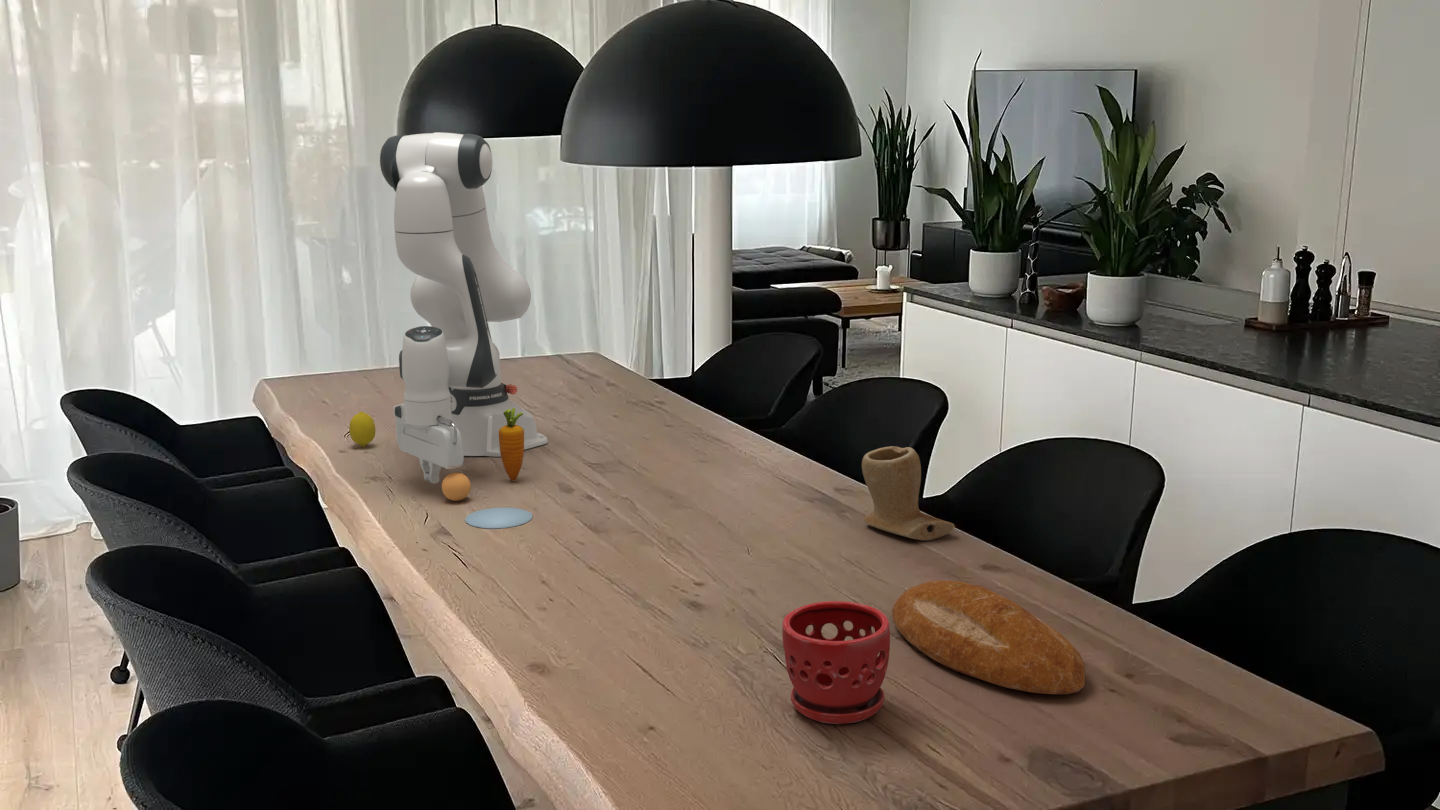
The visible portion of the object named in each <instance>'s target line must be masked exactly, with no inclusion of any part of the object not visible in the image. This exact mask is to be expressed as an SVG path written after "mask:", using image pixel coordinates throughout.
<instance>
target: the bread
mask: <svg viewBox="0 0 1440 810" xmlns="http://www.w3.org/2000/svg"><path fill="white" fill-rule="evenodd" d="M891 613H892V621H893V623H894V626H895V627H896V629H897V631H898V632H899V633H900V634H901V635H902V636H903V638H904V639H905V640H907V642H909V643H910V644H911V645H912V646H914V648H916V649H917V650H918V651H920V652H921V653H922V654H924V655H926V656H927V657H929V658H930V659H932V660H934V661H935V662H937V663H939V664H940V665H943V667H944V666H945V667H947V668H948V669H951V670H953V671H955V672H958V673H960V674H963V675H967V676H970V677H972V678H975V679H978V680H980V681H983V682H986V683H990V684H993V685H996V686H998V687H1003V688H1007V689H1012V690H1016V691H1017V690H1018V691H1022V692H1025V693H1026V692H1027V693H1032V694H1033V693H1034V694H1042V695H1043V694H1045V695H1046V694H1047V695H1071V694H1074V693H1075V694H1076V693H1079V692H1080V691H1081V690H1082V689H1083V688H1084V687H1085V685H1086V683H1085V681H1086V680H1085V678H1086V676H1085V675H1086V673H1085V672H1086V671H1085V669H1086V665H1085V662H1084V660H1083V658H1082V656H1081V653H1080V652H1079V651H1078V650H1077V649H1076V648H1075V646H1074V645H1073V644H1072V643H1071V642H1070V641H1069V640H1068V639H1067V638H1065V636H1064V635H1063V634H1061V633H1060V632H1059V631H1057V630H1056V629H1055V628H1053V627H1052V626H1050V625H1048V624H1047V623H1046V622H1044V621H1043V620H1042V619H1040V618H1039V617H1038V616H1036V615H1034V614H1033V613H1031V612H1030V611H1028V610H1026V609H1025V608H1024V607H1022V606H1021V605H1019V604H1017V603H1016V602H1014V601H1012V600H1011V599H1008V598H1007V597H1005V596H1003V595H1001V594H1000V593H997V592H995V591H992V590H991V589H988V588H986V587H984V586H982V585H977V584H970V583H967V582H964V581H962V580H961V581H960V580H959V581H958V580H930V581H927V582H923V583H921V584H918V585H915V586H913V587H910V588H908V589H907V590H905V591H904V592H903V593H902V594H901V595H900V597H899V598H897V600H896V601H895V603H894V605H893V607H892V609H891Z"/></svg>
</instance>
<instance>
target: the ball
mask: <svg viewBox="0 0 1440 810" xmlns="http://www.w3.org/2000/svg"><path fill="white" fill-rule="evenodd" d="M471 489H472V486H471V481H470V479H469V477H468V476H466V475H465V474H464V473H462V472H458V471H457V472H456V471H455V472H451V473H449V474H448V475H446V476H445V477H444V479H443V480H442V483H441V490H442V493H443V495H444V497H445V498H447V499H448V500H450V501H454V502H459V501H462V500H464V499H466V498H467V497H468V495H470V492H471Z"/></svg>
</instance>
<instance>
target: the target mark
mask: <svg viewBox="0 0 1440 810" xmlns="http://www.w3.org/2000/svg"><path fill="white" fill-rule="evenodd" d="M532 519H533V513H532V512H531V511H529V510H526V509H523V508H522V509H521V508H517V507H502V506H501V507H493V508H490V507H489V508H483V509H481V510H477V511H474V512H471V513H469V514H468V515H467V516H466V517H465V519H464V521H465V523H466V524H467V523H468V524H467V525H469V526H470V527H475V528H478V529H487V530H489V529H490V530H491V529H493V530H497V529H499V528H500V529H509V528H514V527H518V526H523V525H525V524H526V523H528V522H530V521H531V520H532Z"/></svg>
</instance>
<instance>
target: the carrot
mask: <svg viewBox="0 0 1440 810" xmlns="http://www.w3.org/2000/svg"><path fill="white" fill-rule="evenodd" d="M503 414H504V416H505V417H506V420H507V425H505V426H503V427H501V428H500V429H499V445H500V453H501V456H500V457H501V462H502V465H503V468H504V470H505V472H506V475H507V476H508V478H509V480H510V481H511V482H515V481H516V480H517V478H518V476H519V474H520V471H521V469H522V466H523V460H524V455H525V454H524V452H525V450H524V430H523V428H522V427H520V426H518V425H515V423H516V421H517V419H518V418H519V417H520V416H522V415H523V413H522V412H520V413H518V414H517V415H516V417H514V415H515V408H512V411H511V410H510V409H508V410H507V411H504V412H503Z"/></svg>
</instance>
